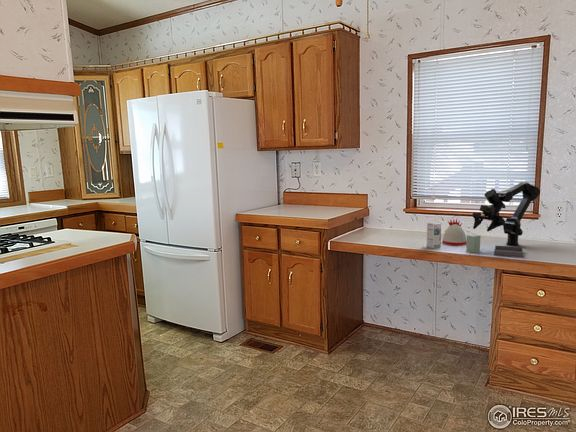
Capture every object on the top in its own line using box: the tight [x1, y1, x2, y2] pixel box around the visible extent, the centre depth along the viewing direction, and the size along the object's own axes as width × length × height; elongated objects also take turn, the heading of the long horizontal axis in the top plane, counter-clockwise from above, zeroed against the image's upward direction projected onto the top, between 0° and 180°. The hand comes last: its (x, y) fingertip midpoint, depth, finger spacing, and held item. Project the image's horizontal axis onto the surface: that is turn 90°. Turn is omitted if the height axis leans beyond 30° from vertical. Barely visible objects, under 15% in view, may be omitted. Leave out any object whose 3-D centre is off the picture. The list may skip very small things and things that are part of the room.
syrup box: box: [426, 221, 442, 249], centre depth 265 cm, size 6×6×14 cm
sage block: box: [465, 234, 482, 253], centre depth 253 cm, size 5×5×9 cm
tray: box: [493, 244, 524, 258], centre depth 246 cm, size 14×14×2 cm
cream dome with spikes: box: [442, 218, 467, 246], centre depth 274 cm, size 14×14×15 cm
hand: (480, 229), depth 254 cm, fingers open, 9 cm apart
